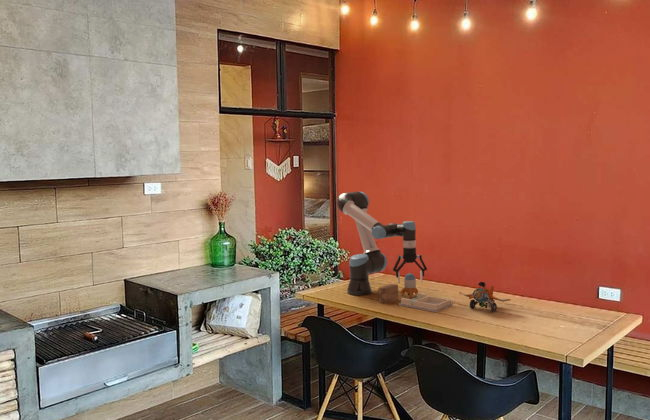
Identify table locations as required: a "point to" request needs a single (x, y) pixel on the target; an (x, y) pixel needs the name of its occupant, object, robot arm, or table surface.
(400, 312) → the table surface
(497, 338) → the table surface
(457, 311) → the table surface
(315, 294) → the table surface
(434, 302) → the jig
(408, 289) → the toy rocket
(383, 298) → the wing block
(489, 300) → the toy airplane
